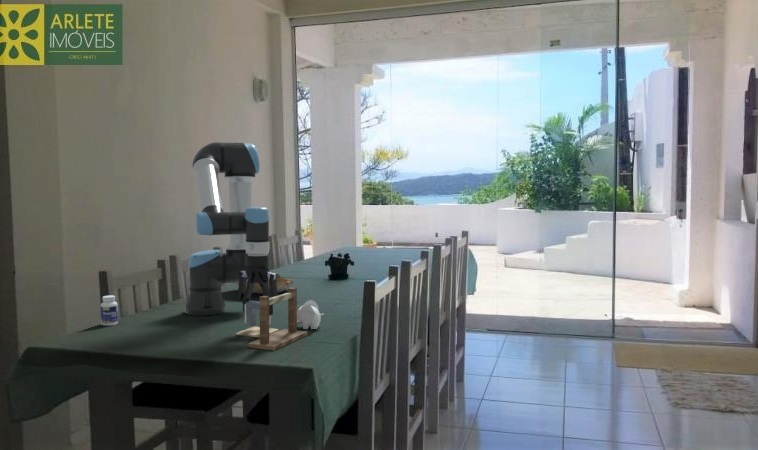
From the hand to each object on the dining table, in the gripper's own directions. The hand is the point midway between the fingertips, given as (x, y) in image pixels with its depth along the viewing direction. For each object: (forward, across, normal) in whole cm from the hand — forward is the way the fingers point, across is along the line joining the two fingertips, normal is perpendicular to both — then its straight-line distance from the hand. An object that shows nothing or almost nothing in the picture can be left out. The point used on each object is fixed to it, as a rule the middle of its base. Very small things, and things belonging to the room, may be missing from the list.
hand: (257, 323), depth 199 cm
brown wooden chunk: (+3, -42, +63) cm, 76 cm away
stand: (+3, +12, -6) cm, 14 cm away
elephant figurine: (+3, +11, +13) cm, 17 cm away
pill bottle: (+3, -54, -11) cm, 55 cm away
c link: (+1, 0, 0) cm, 1 cm away
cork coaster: (+3, 0, 0) cm, 3 cm away
